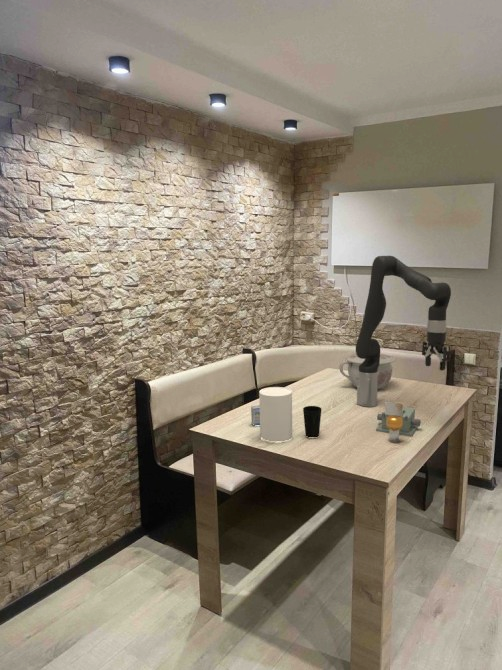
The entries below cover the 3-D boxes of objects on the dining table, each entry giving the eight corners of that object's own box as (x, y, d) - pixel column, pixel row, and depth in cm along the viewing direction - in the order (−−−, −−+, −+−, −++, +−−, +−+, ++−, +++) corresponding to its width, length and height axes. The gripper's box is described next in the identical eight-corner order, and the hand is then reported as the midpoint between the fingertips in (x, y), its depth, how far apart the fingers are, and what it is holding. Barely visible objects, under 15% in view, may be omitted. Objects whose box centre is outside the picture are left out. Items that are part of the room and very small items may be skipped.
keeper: (385, 417, 211) (385, 401, 208) (386, 415, 212) (385, 400, 209) (402, 419, 208) (402, 404, 205) (403, 418, 209) (402, 402, 206)
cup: (309, 431, 215) (309, 404, 213) (324, 435, 210) (324, 407, 208) (299, 436, 209) (299, 409, 207) (315, 440, 204) (315, 412, 202)
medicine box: (253, 427, 222) (253, 408, 220) (251, 424, 226) (250, 405, 224) (270, 425, 224) (270, 406, 222) (267, 422, 228) (267, 403, 227)
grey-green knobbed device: (372, 430, 214) (372, 412, 213) (382, 417, 230) (383, 401, 229) (415, 437, 206) (416, 418, 205) (423, 423, 221) (424, 406, 220)
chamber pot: (400, 384, 286) (401, 348, 283) (387, 396, 263) (388, 358, 260) (353, 378, 301) (353, 345, 297) (337, 390, 277) (337, 353, 274)
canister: (286, 445, 200) (286, 397, 197) (255, 441, 205) (254, 394, 202) (296, 433, 213) (296, 388, 209) (266, 430, 218) (265, 385, 214)
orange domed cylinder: (384, 442, 201) (385, 418, 199) (388, 437, 206) (388, 414, 205) (400, 444, 198) (400, 420, 197) (403, 439, 204) (404, 416, 202)
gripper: (417, 328, 214) (416, 365, 217) (441, 333, 201) (439, 372, 204) (431, 327, 217) (430, 363, 219) (456, 332, 204) (454, 370, 206)
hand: (435, 368), depth 211 cm, fingers open, 8 cm apart
